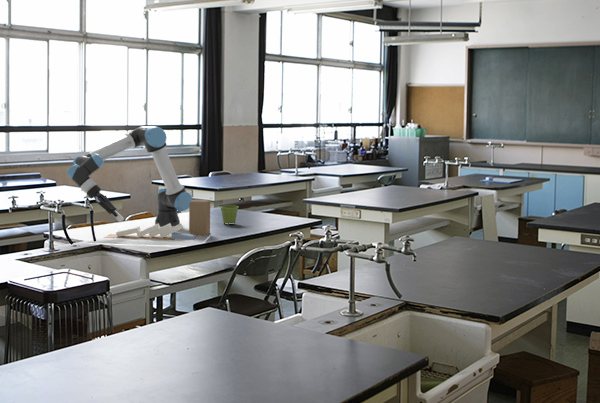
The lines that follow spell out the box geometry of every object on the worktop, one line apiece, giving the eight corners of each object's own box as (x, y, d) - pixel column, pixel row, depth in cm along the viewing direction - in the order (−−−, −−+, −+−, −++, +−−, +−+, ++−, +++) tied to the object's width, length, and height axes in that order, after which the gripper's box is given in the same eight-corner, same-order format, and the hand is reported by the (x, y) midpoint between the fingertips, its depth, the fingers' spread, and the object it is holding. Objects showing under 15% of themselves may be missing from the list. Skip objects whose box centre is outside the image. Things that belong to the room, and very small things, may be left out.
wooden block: (210, 234, 387) (210, 199, 385) (206, 237, 377) (206, 201, 375) (193, 233, 388) (193, 199, 386) (188, 236, 378) (188, 201, 376)
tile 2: (138, 231, 369) (158, 223, 368) (140, 236, 369) (160, 227, 369) (136, 233, 364) (156, 224, 364) (138, 237, 365) (158, 228, 364)
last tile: (173, 232, 369) (195, 234, 369) (172, 236, 369) (194, 239, 369) (171, 233, 364) (193, 236, 364) (171, 238, 364) (193, 241, 364)
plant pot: (220, 222, 434) (221, 205, 433) (239, 223, 434) (239, 205, 433) (218, 225, 422) (218, 207, 421) (237, 226, 422) (237, 208, 421)
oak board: (109, 235, 373) (109, 234, 373) (178, 238, 373) (178, 236, 373) (103, 239, 362) (103, 237, 361) (173, 241, 361) (173, 239, 361)
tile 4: (161, 232, 369) (181, 223, 368) (163, 236, 369) (183, 227, 368) (159, 233, 364) (179, 224, 363) (161, 238, 364) (181, 228, 364)
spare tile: (117, 237, 365) (138, 232, 364) (115, 232, 365) (137, 227, 364) (119, 235, 370) (140, 230, 369) (118, 230, 369) (139, 226, 369)
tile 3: (150, 232, 369) (170, 223, 368) (152, 236, 369) (172, 227, 369) (148, 233, 364) (168, 224, 364) (150, 238, 365) (170, 228, 364)
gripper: (90, 192, 371) (120, 223, 373) (82, 194, 359) (113, 226, 360) (99, 183, 371) (130, 214, 372) (92, 185, 358) (123, 217, 359)
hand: (121, 220), depth 366 cm, fingers closed
